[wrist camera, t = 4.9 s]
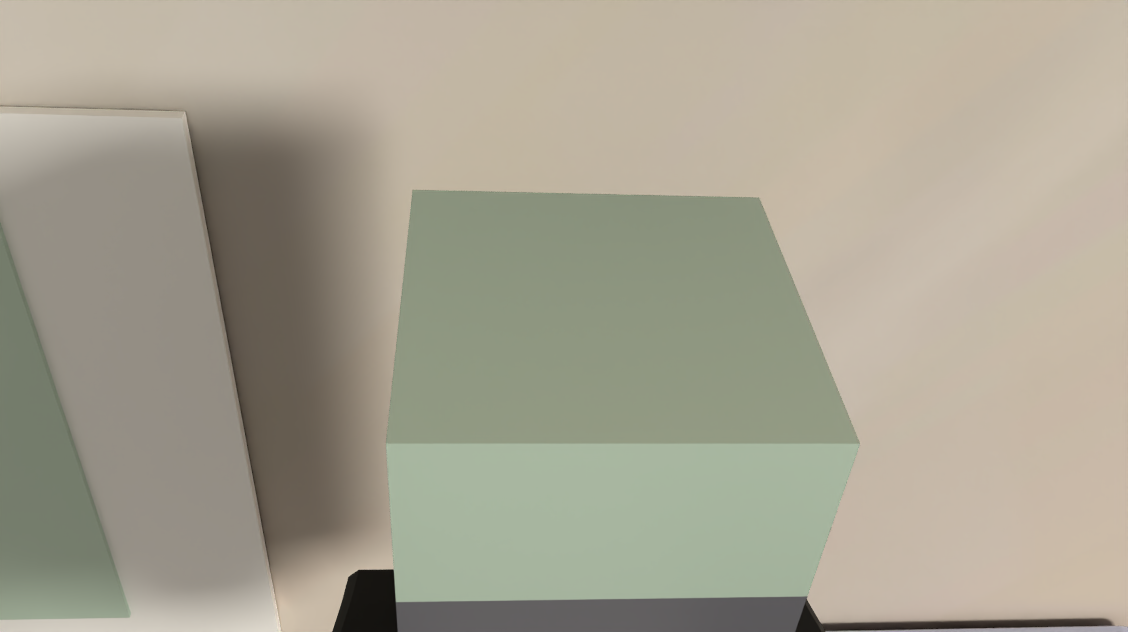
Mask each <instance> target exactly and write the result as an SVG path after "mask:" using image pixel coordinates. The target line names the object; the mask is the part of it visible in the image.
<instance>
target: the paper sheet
mask: <svg viewBox="0 0 1128 632" xmlns="http://www.w3.org/2000/svg"><path fill="white" fill-rule="evenodd" d="M0 632H281V627H280V622H279V616H278V611H277V606H276V600H275V595H274V589H273V584H272V579H271V573H270V568H269V562H268V557H267V551H266V546H265V541H264V535H263V530H262V524H261V519H260V513H259V508H258V503H257V497H256V492H255V486H254V481H253V476H252V470H251V465H250V459H249V454H248V448H247V443H246V438H245V432H244V427H243V421H242V416H241V411H240V405H239V400H238V394H237V389H236V383H235V378H234V373H233V367H232V362H231V356H230V351H229V345H228V340H227V335H226V329H225V324H224V318H223V313H222V308H221V302H220V297H219V291H218V286H217V280H216V275H215V270H214V264H213V259H212V253H211V248H210V242H209V237H208V232H207V226H206V221H205V215H204V210H203V205H202V199H201V194H200V188H199V183H198V177H197V172H196V167H195V161H194V156H193V150H192V145H191V140H190V134H189V129H188V123H187V118H186V112H185V111H156V110H120V109H84V108H48V107H12V106H0Z"/></svg>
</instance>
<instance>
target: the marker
mask: <svg viewBox="0 0 1128 632" xmlns="http://www.w3.org/2000/svg"><path fill="white" fill-rule="evenodd" d="M859 445H860V442H859V440H858V437H857V435H856V433H855V430H854V428H853V425H852V423H851V420H850V418H849V415H848V413H847V411H846V408H845V406H844V403H843V401H842V398H841V396H840V394H839V391H838V389H837V386H836V384H835V381H834V379H833V377H832V374H831V372H830V369H829V367H828V364H827V362H826V359H825V357H824V355H823V352H822V350H821V347H820V345H819V342H818V340H817V338H816V335H815V333H814V330H813V328H812V325H811V323H810V321H809V318H808V316H807V313H806V311H805V308H804V306H803V303H802V301H801V299H800V296H799V294H798V291H797V289H796V286H795V284H794V282H793V279H792V277H791V274H790V272H789V269H788V267H787V264H786V262H785V260H784V257H783V255H782V252H781V250H780V247H779V245H778V243H777V240H776V238H775V235H774V233H773V230H772V228H771V226H770V223H769V221H768V218H767V216H766V213H765V211H764V208H763V206H762V204H761V201H760V199H759V198H750V197H705V196H660V195H616V194H571V193H527V192H482V191H438V190H413V192H412V201H411V210H410V220H409V229H408V239H407V248H406V258H405V267H404V277H403V286H402V296H401V305H400V315H399V324H398V334H397V343H396V353H395V362H394V372H393V381H392V391H391V400H390V410H389V419H388V429H387V438H386V453H387V469H388V485H389V501H390V517H391V533H392V548H393V564H394V580H395V596H396V612H397V628H398V632H795V631H796V628H797V625H798V622H799V619H800V616H801V613H802V610H803V607H804V605H805V602H806V599H807V596H808V593H809V590H810V587H811V584H812V581H813V578H814V576H815V573H816V570H817V567H818V564H819V561H820V558H821V555H822V552H823V550H824V547H825V544H826V541H827V538H828V535H829V532H830V529H831V526H832V523H833V521H834V518H835V515H836V512H837V509H838V506H839V503H840V500H841V497H842V495H843V492H844V489H845V486H846V483H847V480H848V477H849V474H850V471H851V468H852V466H853V463H854V460H855V457H856V454H857V451H858V448H859Z"/></svg>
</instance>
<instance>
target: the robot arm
mask: <svg viewBox="0 0 1128 632" xmlns="http://www.w3.org/2000/svg"><path fill="white" fill-rule="evenodd" d="M332 632H398V628H397V612H396V596H395V580H394V570H358V571H356V572H355V573H354V574H352V575H351V576H349V577H348V581H347V585H346V589H345V592H344V596H343V600H342V603H341V607H340V610H339V613H338V616H337V619H336V622H335V625H334V628H333V631H332ZM795 632H1128V627H1126V626H1073V627H1020V628H967V629H914V630H861V631H825V630H824V628H823V627H822V625H821V623H820V622H819V620H818V618H817V616H816V615H815V613H814V611H813V610H812V608H811V606H810V604H809V603H808V601H807V599H806V602H805V605H804V607H803V610H802V613H801V616H800V619H799V622H798V625H797V628H796V631H795Z"/></svg>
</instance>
